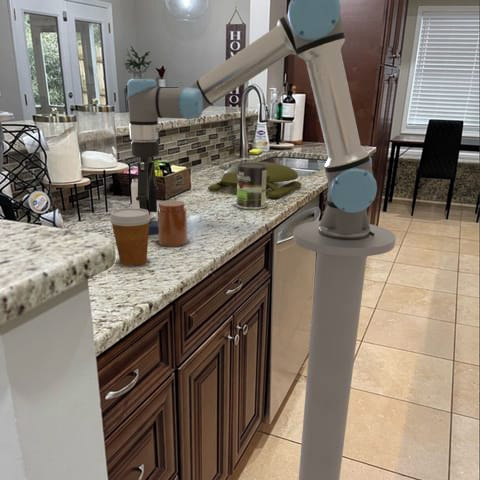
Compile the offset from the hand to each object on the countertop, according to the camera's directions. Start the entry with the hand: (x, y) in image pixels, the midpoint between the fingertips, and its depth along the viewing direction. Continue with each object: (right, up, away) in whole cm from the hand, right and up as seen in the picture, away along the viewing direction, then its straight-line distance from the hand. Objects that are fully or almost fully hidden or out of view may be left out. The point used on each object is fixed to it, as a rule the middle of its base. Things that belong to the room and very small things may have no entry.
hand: (149, 217), depth 145 cm
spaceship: (+34, +22, +62) cm, 74 cm away
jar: (+8, -8, -9) cm, 15 cm away
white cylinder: (-4, +2, +14) cm, 15 cm away
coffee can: (+30, +9, +32) cm, 45 cm away
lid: (0, -2, +1) cm, 2 cm away
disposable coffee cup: (+1, -15, -24) cm, 28 cm away
